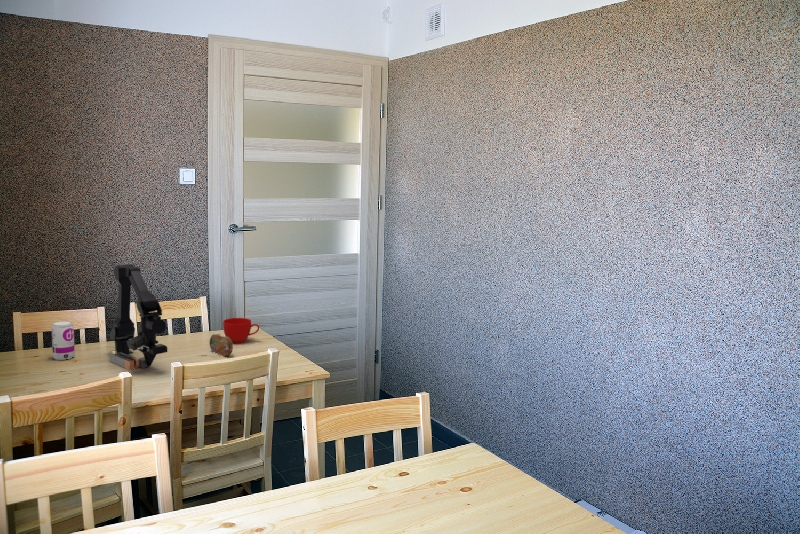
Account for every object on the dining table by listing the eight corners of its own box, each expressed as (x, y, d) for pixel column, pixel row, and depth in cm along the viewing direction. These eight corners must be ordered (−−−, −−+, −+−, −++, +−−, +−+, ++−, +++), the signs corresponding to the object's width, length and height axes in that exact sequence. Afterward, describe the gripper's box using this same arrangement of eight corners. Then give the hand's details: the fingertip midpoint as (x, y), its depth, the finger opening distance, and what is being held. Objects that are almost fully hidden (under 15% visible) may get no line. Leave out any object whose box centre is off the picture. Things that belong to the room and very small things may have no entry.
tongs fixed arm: (107, 360, 282) (107, 351, 282) (115, 359, 285) (114, 349, 284) (129, 370, 271) (129, 360, 270) (137, 368, 273) (137, 358, 273)
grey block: (137, 365, 276) (137, 358, 276) (144, 364, 278) (143, 357, 278) (142, 368, 274) (142, 360, 273) (149, 366, 276) (149, 359, 275)
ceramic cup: (256, 345, 313) (256, 324, 312) (219, 344, 313) (219, 323, 312) (262, 338, 326) (262, 318, 325) (227, 337, 326) (227, 317, 325)
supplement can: (79, 357, 286) (77, 322, 284) (62, 361, 279) (60, 326, 276) (65, 354, 289) (64, 320, 287) (48, 358, 282) (47, 323, 280)
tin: (209, 351, 302) (209, 332, 301) (215, 349, 304) (215, 331, 303) (227, 358, 292) (227, 339, 291) (234, 357, 294) (234, 338, 293)
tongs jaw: (117, 360, 282) (117, 352, 281) (121, 359, 283) (121, 352, 283) (136, 368, 273) (136, 359, 273) (140, 367, 274) (140, 359, 274)
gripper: (117, 327, 271) (118, 365, 274) (141, 336, 260) (142, 375, 262) (143, 323, 280) (144, 359, 282) (168, 331, 268) (168, 369, 271)
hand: (149, 366), depth 274 cm, fingers closed
